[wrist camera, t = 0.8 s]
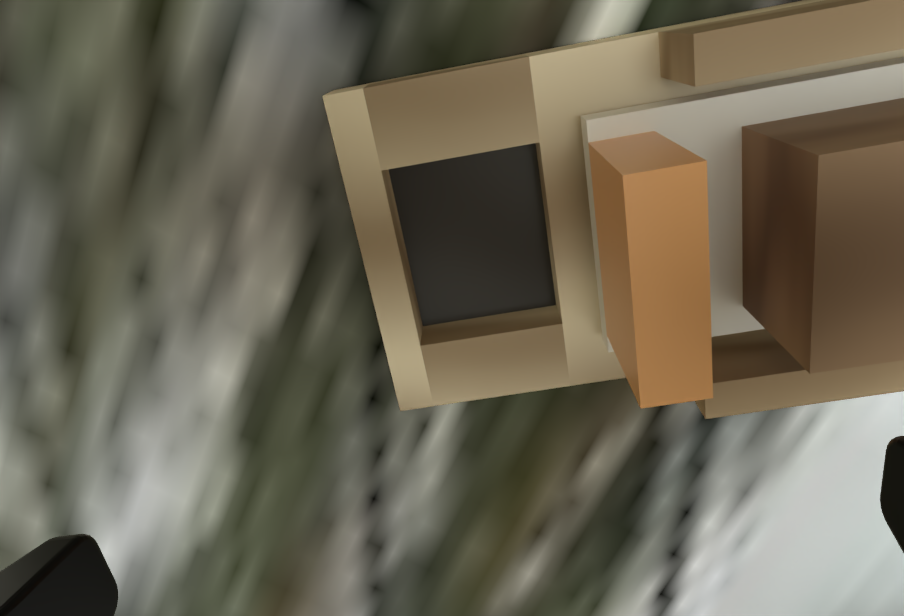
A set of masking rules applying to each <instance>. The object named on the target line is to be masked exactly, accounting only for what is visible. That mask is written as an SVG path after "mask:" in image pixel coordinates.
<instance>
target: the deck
mask: <svg viewBox="0 0 904 616" xmlns="http://www.w3.org/2000/svg"><path fill="white" fill-rule="evenodd" d="M901 57H904V0H802V1H797V2H792V3H787V4H781V5H776V6H771V7H766V8H760V9H755V10H750V11H745V12H740V13H734V14H729V15H724V16H719V17H713V18H708V19H703V20H698V21H692V22H687V23H682V24H677V25H671V26H666V27H661V28H656V29H651V30H645V31H640V32H635V33H630V34H624V35H619V36H614V37H609V38H603V39H598V40H593V41H588V42H582V43H577V44H572V45H567V46H562V47H556V48H551V49H546V50H541V51H535V52H530V53H525V54H520V55H514V56H509V57H504V58H499V59H494V60H488V61H483V62H478V63H473V64H467V65H462V66H457V67H452V68H446V69H441V70H436V71H431V72H425V73H420V74H415V75H410V76H405V77H399V78H394V79H389V80H384V81H378V82H373V83H368V84H363V85H357V86H352V87H347V88H342V89H336V90H333V91H331V92H329V93H327V94H325V95H323V96H322V97H323V101H324V105H325V109H326V113H327V117H328V121H329V125H330V129H331V133H332V137H333V141H334V145H335V149H336V153H337V157H338V161H339V165H340V169H341V173H342V177H343V181H344V185H345V190H346V194H347V198H348V202H349V206H350V210H351V214H352V218H353V222H354V226H355V230H356V234H357V238H358V242H359V246H360V250H361V254H362V258H363V262H364V266H365V270H366V274H367V278H368V282H369V286H370V290H371V295H372V299H373V303H374V307H375V311H376V315H377V319H378V323H379V327H380V331H381V335H382V339H383V343H384V347H385V351H386V355H387V359H388V363H389V367H390V371H391V375H392V379H393V383H394V387H395V391H396V395H397V399H398V404H399V408H400V411H404V410H411V409H417V408H424V407H431V406H438V405H444V404H451V403H458V402H465V401H471V400H478V399H485V398H492V397H498V396H505V395H512V394H519V393H525V392H532V391H539V390H546V389H552V388H559V387H566V386H573V385H579V384H586V383H593V382H600V381H606V380H613V379H620V378H626V376H625V374H624V372H623V369H622V367H621V365H620V363H619V361H618V359H617V356H616V354H615V352H609V353H608V350H607V348H606V346H605V344H604V341H603V339H602V329H601V319H600V309H599V299H598V289H597V279H596V269H595V259H594V249H593V239H592V229H591V218H590V208H589V198H588V188H587V178H586V168H585V158H584V148H583V138H582V128H581V118H580V116H582V115H587V114H593V113H598V112H604V111H609V110H615V109H620V108H626V107H631V106H637V105H642V104H648V103H653V102H659V101H664V100H670V99H675V98H681V97H686V96H692V95H697V94H703V93H708V92H714V91H719V90H725V89H730V88H736V87H741V86H747V85H752V84H758V83H763V82H769V81H774V80H780V79H785V78H791V77H796V76H802V75H807V74H813V73H818V72H824V71H829V70H835V69H840V68H846V67H851V66H857V65H862V64H868V63H873V62H879V61H884V60H890V59H895V58H901ZM712 375H713V398H711V399H704V400H697V401H695V402H696V404H697V406H698V407H699V409H700V411H701V412H702V414H703V416H704V417H705V419H710V418H717V417H724V416H731V415H738V414H745V413H752V412H759V411H766V410H773V409H780V408H787V407H794V406H801V405H809V404H816V403H823V402H830V401H837V400H844V399H851V398H858V397H865V396H872V395H879V394H886V393H893V392H900V391H904V360H901V361H895V362H888V363H881V364H874V365H867V366H860V367H853V368H846V369H839V370H833V371H826V372H819V373H812V374H809V373H808V372H807V371H806V370H805V369H804V368H803V367H802V366H801V365H800V363H799V362H798V361H797V360H796V359H795V358H794V357H793V356H792V355H791V354H790V353H789V352H788V351H787V350H786V349H785V348H784V347H783V346H782V345H781V344H780V343H779V342H778V341H777V340H776V339H775V338H774V337H773V336H772V335H771V334H770V333H769V332H768V331H767V330H766V329H761V330H754V331H747V332H741V333H734V334H728V335H721V336H714V337H712Z"/></svg>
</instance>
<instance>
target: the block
mask: <svg viewBox="0 0 904 616" xmlns="http://www.w3.org/2000/svg"><path fill="white" fill-rule="evenodd" d="M742 282H743V307H744V308H745V309H746V310H747V311H748V312H749V313H750V314H751V315H752V316H753V317H754V318H755V319H756V320H757V321H758V322H759V323H760V324H761V325H762V326H763V327H764V328H765V329H766V330H767V331H768V332H769V333H770V334H771V335H772V336H773V337H774V338H775V339H776V340H777V341H778V342H779V343H780V344H781V345H782V346H783V347H784V348H785V349H786V350H787V351H788V352H789V353H790V354H791V355H792V356H793V357H794V358H795V359H796V360H797V361H798V362H799V363H800V365H801V366H802V367H803V368H804V369H805V370H806V371H807V372H808V373H809V374H812V373H819V372H826V371H833V370H839V369H846V368H853V367H860V366H867V365H874V364H881V363H888V362H895V361H901V360H904V98H900V99H894V100H888V101H883V102H877V103H871V104H866V105H860V106H854V107H849V108H843V109H837V110H832V111H826V112H820V113H815V114H809V115H803V116H798V117H792V118H787V119H781V120H775V121H770V122H764V123H758V124H753V125H747V126H742Z"/></svg>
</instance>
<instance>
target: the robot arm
mask: <svg viewBox="0 0 904 616" xmlns="http://www.w3.org/2000/svg"><path fill="white" fill-rule="evenodd" d="M880 502H881V509H882V513H883V515H884V518H885V520H886V522H887V524H888V526H889V528H890V529H891V531H892V533H893V535H894V537H895V538H896V540H897V542H898V544H899V545H900V547H901V549H902V551H903V552H904V436H898V437H895V438H894V439H892V440H891V441H890V442H889V444H888V445H887V449H886V455H885V463H884V471H883V479H882V487H881V495H880ZM117 602H118V589H117V584H116V581H115V579H114V577H113V575H112V573H111V571H110V569H109V567H108V565H107V563H106V561H105V559H104V556H103V554H102V552H101V550H100V548H99V546H98V544H97V542H96V541H95V539H94V538H92V537H91V536H90V535H86V534H76V535H68V536H59V537H55V538H52V539H49V540H48V541H46V542H44V543H43V544H41V545H40V546H38V547H37V548H35V549H34V550H32V551H31V552H29V553H28V554H26V555H25V556H23V557H22V558H20V559H19V560H17V561H16V562H14V563H13V564H11V565H10V566H8V567H7V568H5V569H4V570H2V571H1V572H0V616H114V614H115V611H116V607H117Z"/></svg>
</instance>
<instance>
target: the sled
mask: <svg viewBox="0 0 904 616" xmlns="http://www.w3.org/2000/svg"><path fill="white" fill-rule="evenodd" d="M900 98H904V57H901V58H895V59H890V60H884V61H879V62H873V63H868V64H862V65H857V66H851V67H846V68H840V69H835V70H829V71H824V72H818V73H813V74H807V75H802V76H796V77H791V78H785V79H780V80H774V81H769V82H763V83H758V84H752V85H747V86H741V87H736V88H730V89H725V90H719V91H714V92H708V93H703V94H697V95H692V96H686V97H681V98H675V99H670V100H664V101H659V102H653V103H648V104H642V105H637V106H631V107H626V108H620V109H615V110H609V111H604V112H598V113H593V114H587V115H582V116H580V118H581V128H582V138H583V148H584V158H585V168H586V178H587V188H588V198H589V208H590V218H591V229H592V239H593V249H594V259H595V269H596V279H597V289H598V299H599V309H600V319H601V329H602V339H603V341H604V344H605V346H606V348H607V350H608V353H609V352H615V354H616V356H617V359H618V361H619V363H620V365H621V367H622V369H623V372H624V374H625V376H626V378H627V380H628V382H629V385H630V387H631V389H632V391H633V393H634V395H635V397H636V400H637V402H638V404H639V406H640V408H648V407H655V406H662V405H669V404H676V403H683V402H690V401H697V400H704V399H711V398H713V375H712V337H714V336H721V335H728V334H734V333H741V332H747V331H754V330H761V329H765V328H764V327H763V326H762V325H761V324H760V323H759V322H758V321H757V320H756V319H755V318H754V317H753V316H752V315H751V314H750V313H749V312H748V311H747V310H746V309H745V308H744V307H743V282H742V126H747V125H753V124H758V123H764V122H770V121H775V120H781V119H787V118H792V117H798V116H803V115H809V114H815V113H820V112H826V111H832V110H837V109H843V108H849V107H854V106H860V105H866V104H871V103H877V102H883V101H888V100H894V99H900Z"/></svg>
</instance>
